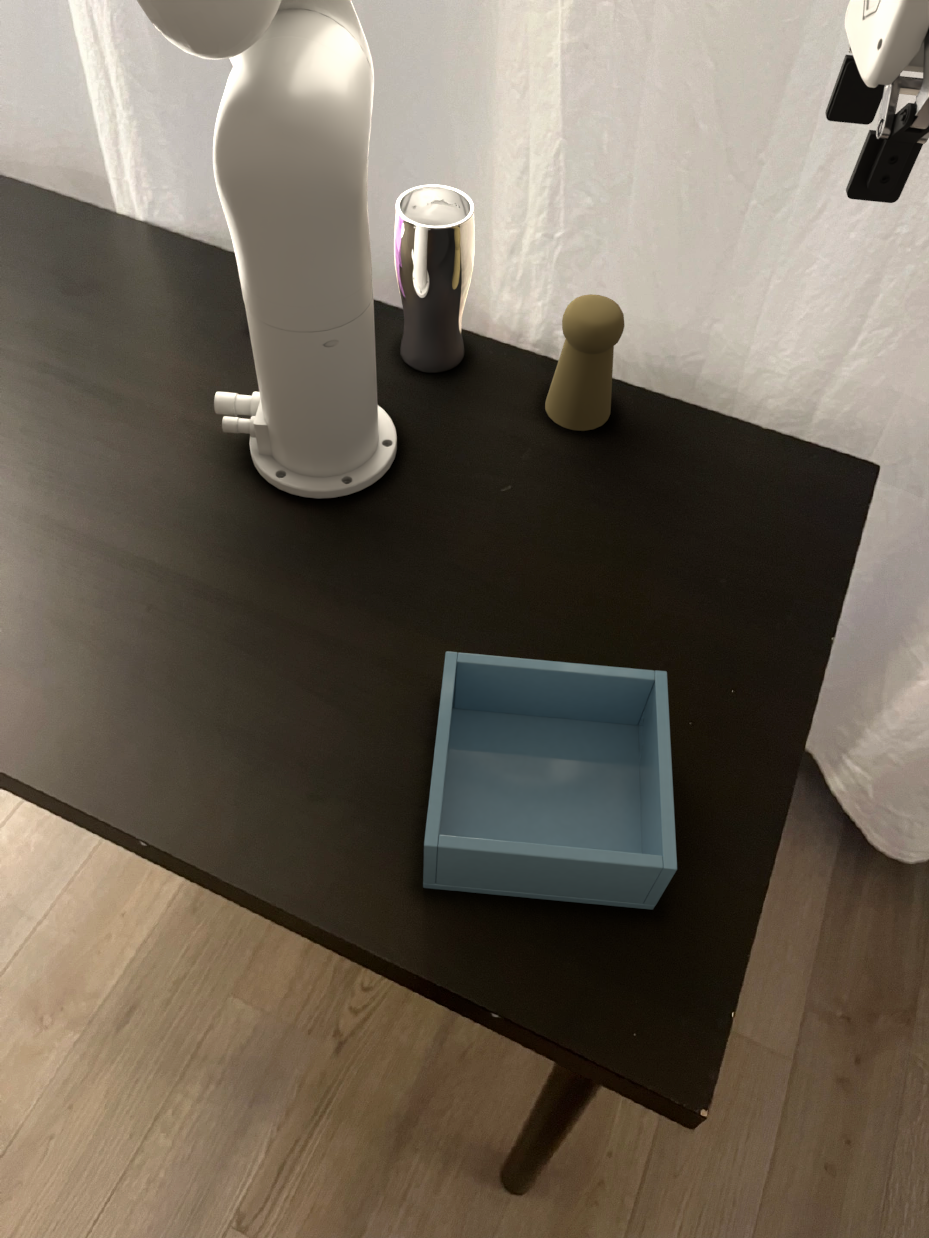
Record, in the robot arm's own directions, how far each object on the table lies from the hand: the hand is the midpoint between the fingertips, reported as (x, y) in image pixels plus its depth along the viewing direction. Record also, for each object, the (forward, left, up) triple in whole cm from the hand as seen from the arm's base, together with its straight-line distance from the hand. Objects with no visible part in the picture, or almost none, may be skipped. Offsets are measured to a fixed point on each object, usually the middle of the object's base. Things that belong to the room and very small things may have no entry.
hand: (858, 158), depth 62 cm
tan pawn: (-15, +5, -28) cm, 32 cm away
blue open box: (-17, -34, -27) cm, 47 cm away
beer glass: (-29, +11, -28) cm, 41 cm away
